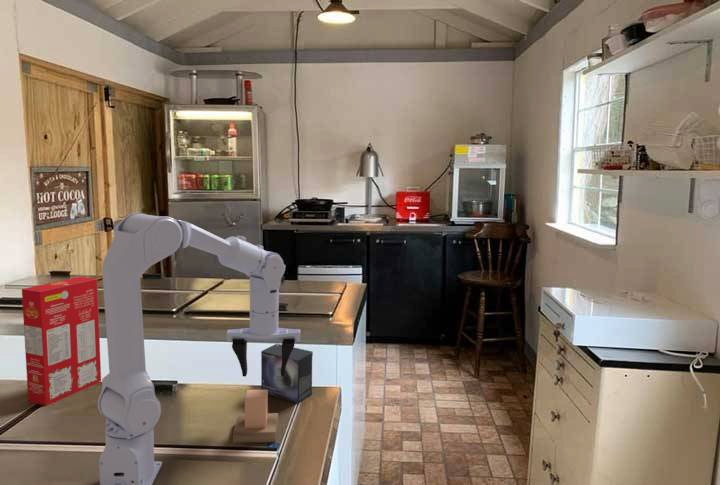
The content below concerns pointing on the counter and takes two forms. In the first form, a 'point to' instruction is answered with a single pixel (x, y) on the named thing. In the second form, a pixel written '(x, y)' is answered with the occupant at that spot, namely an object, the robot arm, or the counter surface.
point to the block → (256, 408)
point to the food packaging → (61, 338)
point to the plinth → (255, 430)
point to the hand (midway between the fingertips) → (263, 374)
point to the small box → (287, 374)
